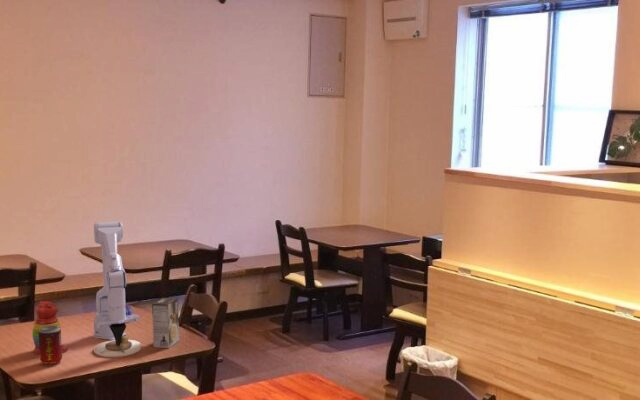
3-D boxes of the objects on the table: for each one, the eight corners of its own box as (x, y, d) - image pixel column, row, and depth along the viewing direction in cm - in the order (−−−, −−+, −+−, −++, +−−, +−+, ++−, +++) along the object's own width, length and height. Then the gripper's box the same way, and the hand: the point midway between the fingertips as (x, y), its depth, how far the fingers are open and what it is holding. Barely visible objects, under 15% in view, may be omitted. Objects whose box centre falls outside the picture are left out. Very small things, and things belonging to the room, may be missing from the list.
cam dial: (102, 345, 271) (101, 331, 270) (127, 340, 276) (126, 327, 275) (112, 355, 260) (112, 340, 260) (138, 350, 265) (138, 336, 264)
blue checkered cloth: (125, 314, 317) (124, 301, 317) (145, 318, 311) (144, 306, 310) (102, 320, 308) (101, 308, 307) (122, 325, 301) (121, 312, 300)
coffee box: (163, 339, 282) (162, 297, 280) (179, 340, 281) (178, 297, 279) (152, 347, 273) (151, 303, 271) (169, 348, 272) (168, 304, 270)
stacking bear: (69, 351, 269) (67, 301, 267) (41, 357, 262) (39, 307, 260) (55, 344, 277) (53, 296, 275) (28, 350, 270) (25, 301, 268)
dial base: (84, 353, 266) (84, 350, 266) (113, 340, 281) (113, 337, 281) (122, 359, 260) (122, 355, 260) (150, 345, 275) (150, 342, 275)
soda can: (60, 358, 262) (58, 323, 260) (64, 364, 255) (62, 329, 254) (38, 361, 258) (36, 326, 257) (41, 368, 252) (39, 332, 250)
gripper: (99, 311, 253) (100, 351, 255) (141, 305, 261) (142, 344, 263) (92, 307, 259) (94, 346, 261) (134, 301, 267) (135, 338, 269)
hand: (118, 344), depth 262 cm, fingers closed
